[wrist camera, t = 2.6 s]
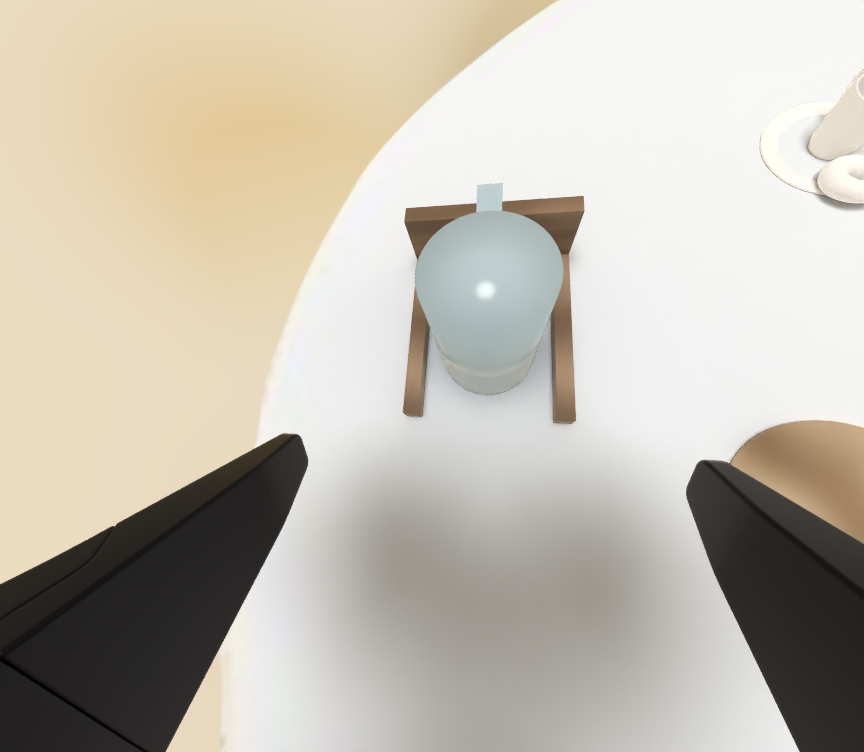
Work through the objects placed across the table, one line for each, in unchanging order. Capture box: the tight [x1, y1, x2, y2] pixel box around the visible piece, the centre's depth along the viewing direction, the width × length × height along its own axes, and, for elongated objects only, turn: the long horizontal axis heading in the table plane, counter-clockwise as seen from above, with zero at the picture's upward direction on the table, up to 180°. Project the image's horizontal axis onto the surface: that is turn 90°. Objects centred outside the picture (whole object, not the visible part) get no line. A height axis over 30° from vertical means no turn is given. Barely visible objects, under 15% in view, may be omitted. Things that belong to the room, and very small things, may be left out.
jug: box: [415, 183, 563, 395], centre depth 18 cm, size 9×6×10 cm, turn 176°
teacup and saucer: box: [760, 69, 864, 203], centre depth 20 cm, size 9×8×4 cm
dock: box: [403, 196, 584, 423], centre depth 20 cm, size 12×10×5 cm
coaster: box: [730, 420, 864, 543], centre depth 16 cm, size 10×10×1 cm
